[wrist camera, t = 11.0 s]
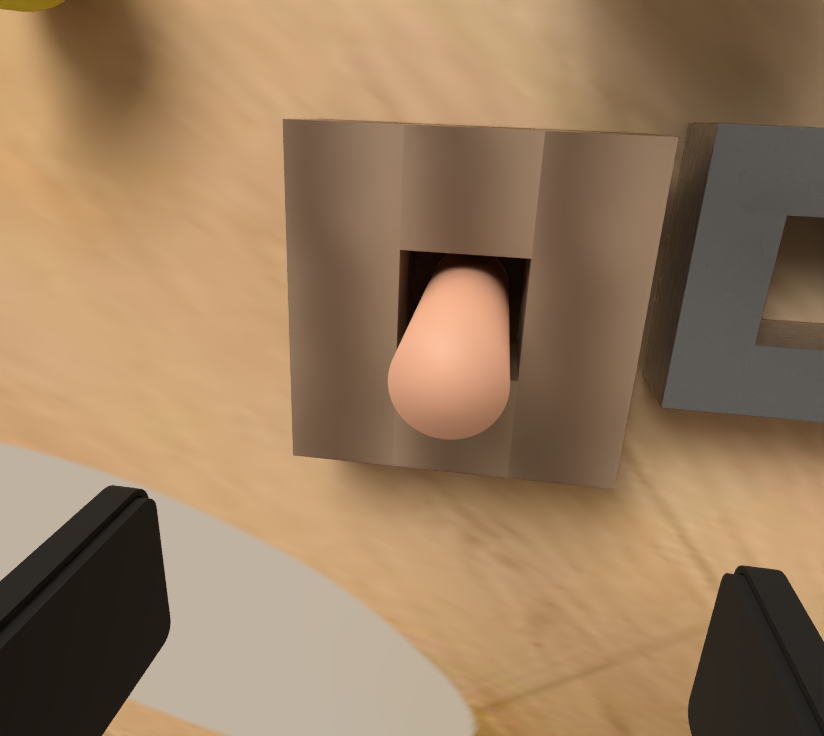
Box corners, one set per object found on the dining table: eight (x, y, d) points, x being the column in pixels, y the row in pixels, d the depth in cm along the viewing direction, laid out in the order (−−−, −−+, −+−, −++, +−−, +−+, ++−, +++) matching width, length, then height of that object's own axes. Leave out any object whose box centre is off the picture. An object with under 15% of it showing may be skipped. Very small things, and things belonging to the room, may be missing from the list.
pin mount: (982, 135, 25) (1064, 138, 21) (893, 393, 29) (949, 433, 25) (689, 122, 26) (718, 123, 23) (642, 372, 30) (661, 407, 27)
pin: (512, 250, 29) (516, 331, 18) (504, 326, 30) (504, 445, 19) (433, 245, 30) (389, 321, 18) (429, 320, 31) (386, 433, 20)
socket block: (648, 133, 27) (678, 137, 22) (599, 435, 32) (614, 489, 27) (319, 119, 28) (282, 119, 24) (322, 408, 33) (293, 455, 29)
